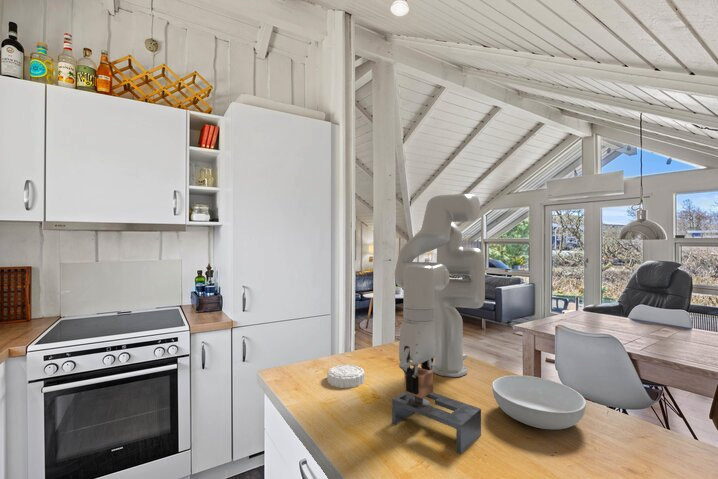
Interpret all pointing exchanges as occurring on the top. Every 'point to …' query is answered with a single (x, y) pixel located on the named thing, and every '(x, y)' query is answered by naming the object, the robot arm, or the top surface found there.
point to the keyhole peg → (421, 387)
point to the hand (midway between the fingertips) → (418, 388)
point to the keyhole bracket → (443, 416)
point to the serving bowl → (539, 401)
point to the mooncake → (346, 376)
